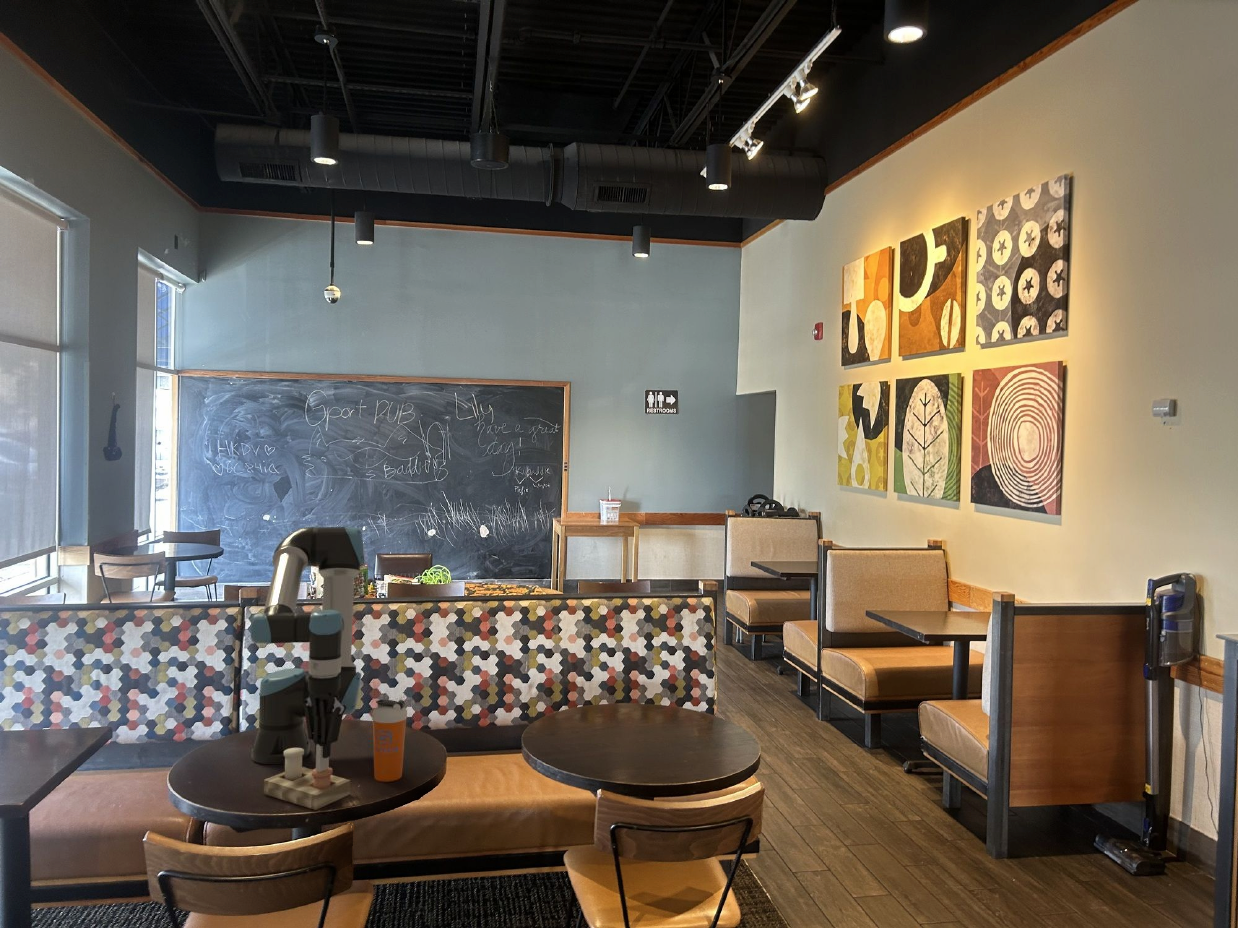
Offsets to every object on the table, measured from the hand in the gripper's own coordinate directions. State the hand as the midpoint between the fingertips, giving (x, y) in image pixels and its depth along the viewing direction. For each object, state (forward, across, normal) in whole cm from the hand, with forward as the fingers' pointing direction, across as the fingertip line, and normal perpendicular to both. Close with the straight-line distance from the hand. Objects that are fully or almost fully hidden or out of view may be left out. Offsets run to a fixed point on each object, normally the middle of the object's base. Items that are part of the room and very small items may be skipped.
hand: (322, 769), depth 209 cm
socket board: (+7, -5, 0) cm, 9 cm away
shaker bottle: (+7, +4, +19) cm, 21 cm away
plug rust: (+7, 0, 0) cm, 7 cm away
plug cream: (+4, -10, 0) cm, 11 cm away
